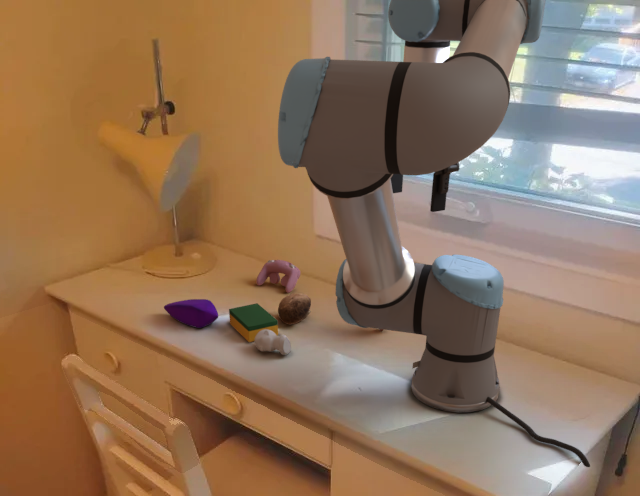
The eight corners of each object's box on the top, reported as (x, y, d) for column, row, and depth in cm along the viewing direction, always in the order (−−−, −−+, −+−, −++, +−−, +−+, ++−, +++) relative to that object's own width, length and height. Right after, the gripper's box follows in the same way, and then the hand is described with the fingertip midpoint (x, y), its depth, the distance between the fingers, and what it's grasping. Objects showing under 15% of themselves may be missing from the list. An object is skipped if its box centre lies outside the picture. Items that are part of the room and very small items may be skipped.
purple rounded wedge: (169, 292, 154) (223, 300, 146) (173, 314, 156) (227, 322, 149) (154, 300, 150) (208, 308, 143) (158, 321, 153) (212, 331, 145)
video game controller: (298, 295, 167) (305, 265, 165) (288, 292, 162) (295, 262, 161) (263, 286, 171) (270, 257, 170) (253, 284, 167) (260, 254, 166)
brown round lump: (321, 299, 152) (305, 280, 148) (318, 327, 148) (301, 308, 144) (291, 311, 156) (274, 293, 152) (286, 338, 152) (269, 320, 148)
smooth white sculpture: (251, 353, 141) (269, 338, 143) (278, 365, 136) (297, 350, 138) (245, 336, 138) (263, 321, 140) (272, 348, 133) (291, 333, 135)
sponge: (278, 335, 145) (277, 320, 143) (249, 342, 142) (248, 327, 140) (258, 317, 152) (257, 303, 150) (229, 323, 150) (228, 308, 148)
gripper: (490, 82, 113) (474, 215, 124) (401, 65, 131) (394, 183, 143) (452, 85, 110) (439, 222, 121) (367, 67, 128) (363, 188, 140)
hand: (415, 201), depth 132 cm, fingers open, 13 cm apart
